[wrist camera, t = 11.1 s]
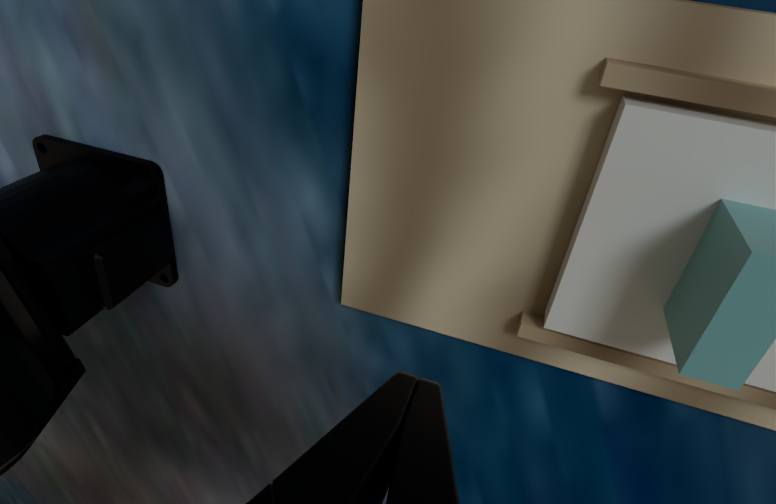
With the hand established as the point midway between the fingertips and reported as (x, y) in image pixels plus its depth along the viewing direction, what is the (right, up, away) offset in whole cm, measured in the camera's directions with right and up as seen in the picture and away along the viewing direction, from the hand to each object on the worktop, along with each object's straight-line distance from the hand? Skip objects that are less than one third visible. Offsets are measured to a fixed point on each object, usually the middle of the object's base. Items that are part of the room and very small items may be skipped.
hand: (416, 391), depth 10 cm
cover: (+9, +3, +6) cm, 12 cm away
